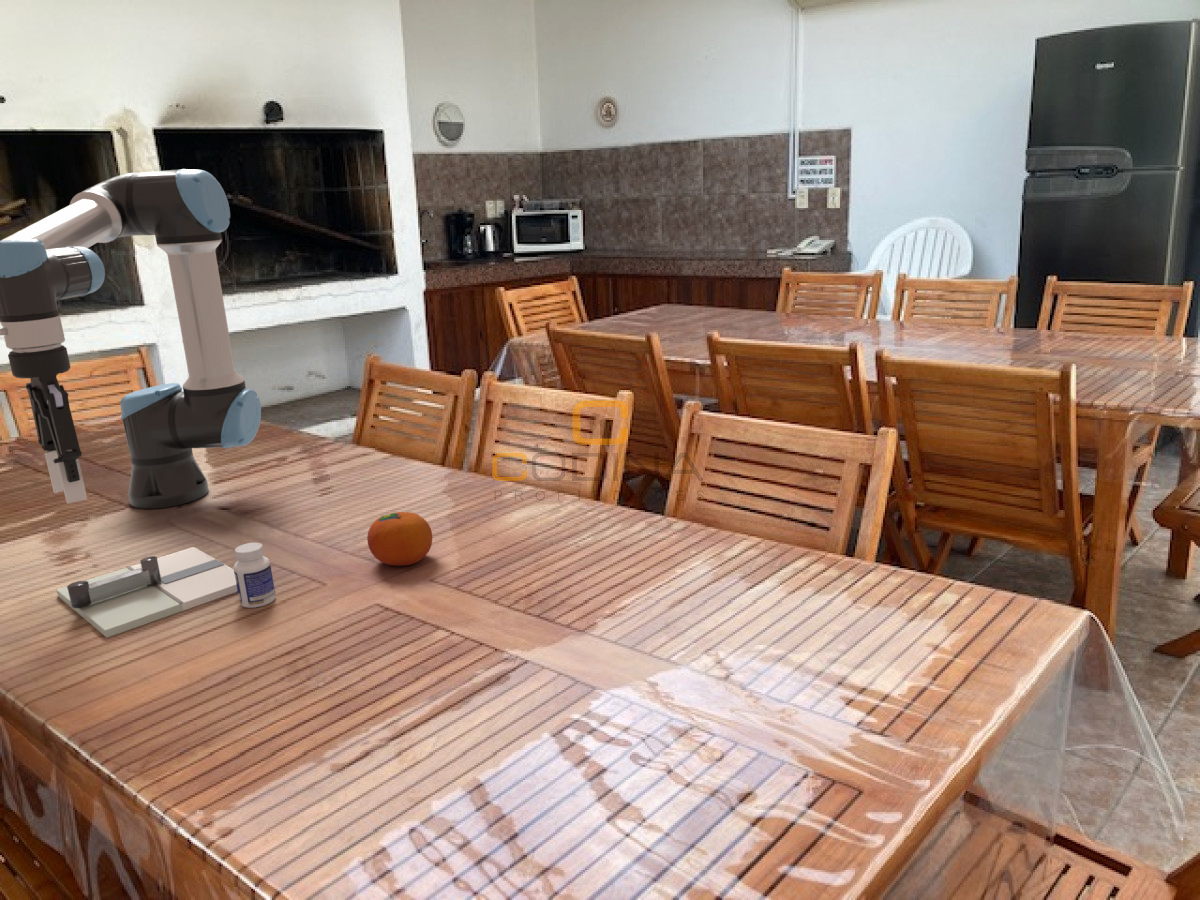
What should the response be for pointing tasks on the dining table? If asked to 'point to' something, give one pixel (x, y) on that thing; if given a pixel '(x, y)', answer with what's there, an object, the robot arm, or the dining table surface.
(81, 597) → the swing bar
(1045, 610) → the dining table surface
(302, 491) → the dining table surface
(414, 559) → the fruit
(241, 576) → the pill bottle
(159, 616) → the door board
